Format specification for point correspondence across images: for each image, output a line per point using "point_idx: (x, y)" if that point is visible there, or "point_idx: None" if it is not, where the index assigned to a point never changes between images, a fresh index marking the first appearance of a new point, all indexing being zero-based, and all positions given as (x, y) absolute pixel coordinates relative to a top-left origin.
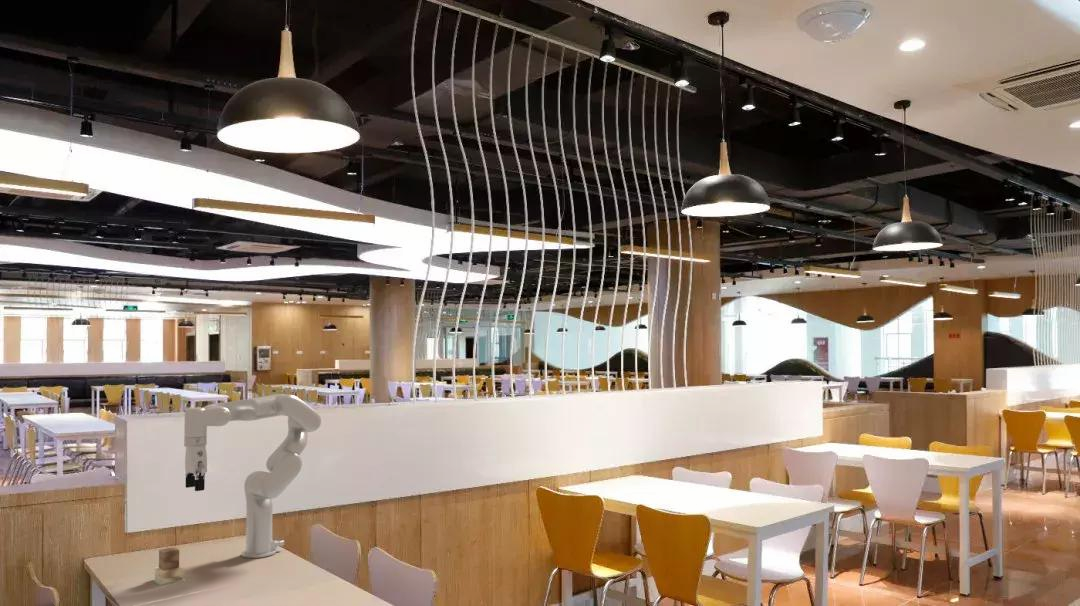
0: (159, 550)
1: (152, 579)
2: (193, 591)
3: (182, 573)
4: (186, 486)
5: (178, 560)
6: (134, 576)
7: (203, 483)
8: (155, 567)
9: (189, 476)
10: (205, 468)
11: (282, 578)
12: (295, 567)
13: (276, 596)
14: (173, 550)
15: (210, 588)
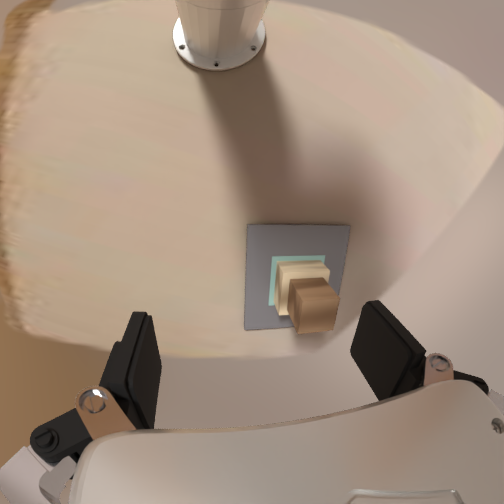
0: (300, 333)
1: (270, 304)
2: (384, 261)
3: (324, 266)
4: (160, 371)
5: (329, 286)
6: (199, 317)
7: (400, 333)
8: (279, 314)
9: (140, 421)
10: (487, 414)
11: (430, 117)
12: (389, 55)
13: (476, 182)
14: (334, 310)
15: (393, 233)
